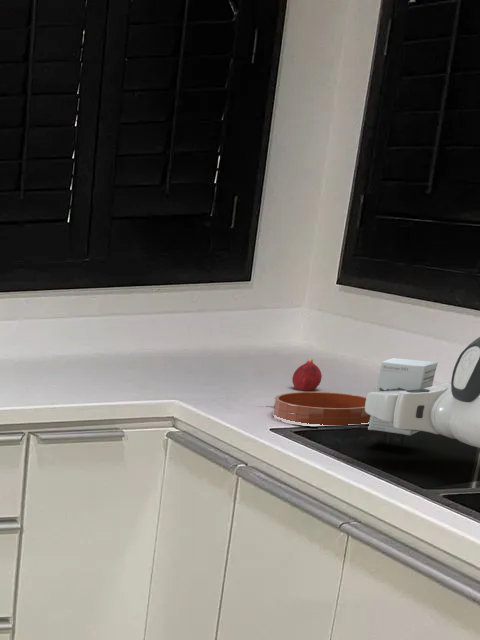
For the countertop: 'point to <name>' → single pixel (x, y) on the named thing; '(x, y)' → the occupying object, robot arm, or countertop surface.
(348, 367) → the countertop surface
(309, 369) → the onion
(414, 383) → the white packaging box
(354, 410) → the bowl
